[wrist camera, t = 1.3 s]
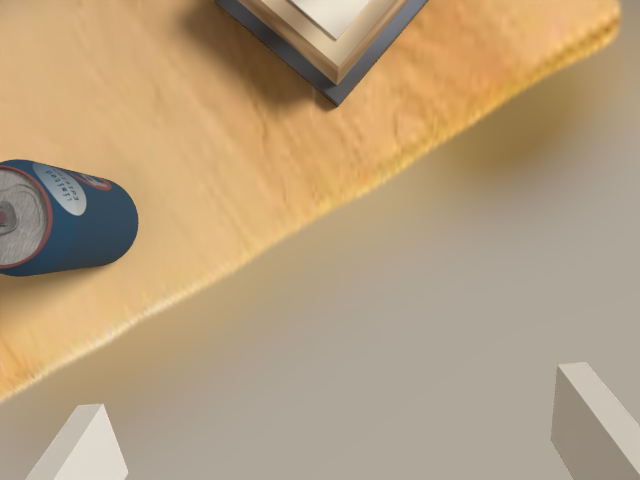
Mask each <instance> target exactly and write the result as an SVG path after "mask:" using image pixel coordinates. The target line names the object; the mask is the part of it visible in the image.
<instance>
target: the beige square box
mask: <svg viewBox="0 0 640 480" xmlns="http://www.w3.org/2000/svg"><path fill="white" fill-rule="evenodd" d="M428 1H429V0H215V2H216V3H217V4H218V5H219V6H221V7H222V8H223V9H224V10H225V11H226V12H228V13H229V14H230V15H231V16H232V17H233V18H235V19H236V20H237V21H238V22H239V23H240V24H242V25H243V26H244V27H245V28H246V29H247V30H249V31H250V32H251V33H252V34H253V35H254V36H256V37H257V38H258V39H259V40H260V41H261V42H263V43H264V44H265V45H266V46H267V47H268V48H269V49H271V50H272V51H273V52H274V53H275V54H276V55H278V56H279V57H280V58H281V59H282V60H283V61H285V62H286V63H287V64H288V65H289V66H290V67H292V68H293V69H294V70H295V71H296V72H297V73H299V74H300V75H301V76H302V77H303V78H304V79H306V80H307V81H308V82H309V83H310V84H311V85H313V86H314V87H315V88H316V89H317V90H318V91H320V92H321V93H322V94H323V95H324V96H325V97H327V98H328V99H329V100H330V101H331V102H332V103H334V104H335V105H336V106H337V107H338V106H339V105H340V104H341V103H342V102H343V100H344V99H345V98H346V97H347V96H348V95H349V93H350V92H351V91H352V90H353V89H354V87H355V86H356V85H357V84H358V83H359V82H360V80H361V79H362V78H363V77H364V76H365V75H366V73H367V72H368V71H369V70H370V69H371V68H372V66H373V65H374V64H375V63H376V62H377V60H378V59H379V58H380V57H381V56H382V55H383V53H384V52H385V51H386V50H387V49H388V48H389V46H390V45H391V44H392V43H393V42H394V41H395V39H396V38H397V37H398V36H399V35H400V33H401V32H402V31H403V30H404V29H405V28H406V26H407V25H408V24H409V23H410V22H411V21H412V19H413V18H414V17H415V16H416V15H417V14H418V12H419V11H420V10H421V9H422V8H423V6H424V5H425V4H426V3H427V2H428Z"/></svg>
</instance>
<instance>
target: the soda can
mask: <svg viewBox="0 0 640 480" xmlns="http://www.w3.org/2000/svg"><path fill="white" fill-rule="evenodd" d="M137 231H138V214H137V210H136V207H135V204H134V202H133V200H132V199H131V197H130V196H129V194H128V193H127V192H126V191H125V190H124V189H123V188H122V187H120V186H119V185H117V184H116V183H114V182H112V181H110V180H107V179H103V178H99V177H95V176H91V175H87V174H83V173H79V172H75V171H70V170H66V169H62V168H58V167H54V166H50V165H46V164H42V163H38V162H34V161H29V160H18V159H17V160H8V161H4V162H0V273H1V274H5V275H9V276H31V275H38V274H45V273H52V272H59V271H66V270H73V269H80V268H87V267H94V266H101V265H106V264H109V263H112V262H114V261H116V260H117V259H119V258H120V257H122V256H123V255H124V254H125V253H126V252H127V251H128V250H129V248H130V247H131V246H132V244H133V242H134V240H135V238H136V235H137Z"/></svg>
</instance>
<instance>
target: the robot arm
mask: <svg viewBox="0 0 640 480" xmlns="http://www.w3.org/2000/svg"><path fill="white" fill-rule="evenodd" d="M551 441H552V443H553V445H554V446H555V448H556V450H557V451H558V453H559V455H560V457H561V458H562V460H563V462H564V464H565V465H566V467H567V468H568V470H569V472H570V474H571V476H572V477H573V479H574V480H640V426H639V425H638V424H637V422H636V421H635V420H634V419H633V418H632V416H631V415H630V414H629V413H628V412H627V411H626V409H625V408H624V407H623V406H622V405H621V403H620V402H619V401H618V400H617V399H616V398H615V396H614V395H613V394H612V393H611V392H610V390H609V389H608V388H607V387H606V386H605V385H604V383H603V382H602V381H601V380H600V379H599V377H598V376H597V375H596V374H595V373H594V371H593V370H592V369H591V368H590V367H589V365H588V364H587V363H586V362H581V363H570V364H558V365H557V376H556V387H555V398H554V409H553V420H552V432H551ZM127 474H128V470H127V467H126V464H125V462H124V459H123V456H122V454H121V451H120V448H119V445H118V443H117V440H116V438H115V435H114V432H113V429H112V426H111V424H110V421H109V419H108V416H107V413H106V410H105V408H104V405H103V403H102V404H90V405H78V406H77V408H76V409H75V410H74V412H73V413H72V415H71V416H70V417H69V419H68V420H67V422H66V423H65V425H64V426H63V427H62V429H61V430H60V431H59V433H58V434H57V436H56V437H55V438H54V440H53V441H52V443H51V444H50V445H49V447H48V448H47V450H46V451H45V452H44V454H43V455H42V457H41V458H40V459H39V461H38V462H37V464H36V465H35V466H34V468H33V469H32V471H31V472H30V473H29V475H28V476H27V478H26V479H25V480H125V478H126V476H127Z"/></svg>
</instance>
